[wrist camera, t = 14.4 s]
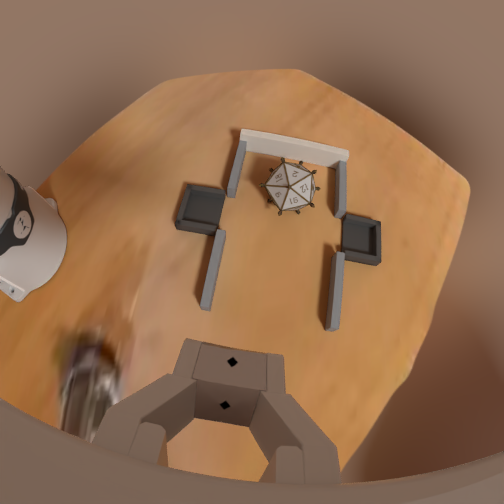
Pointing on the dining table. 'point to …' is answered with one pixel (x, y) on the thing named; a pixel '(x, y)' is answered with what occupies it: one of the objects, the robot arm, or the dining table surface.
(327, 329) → the trap lane
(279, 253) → the dining table surface
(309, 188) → the game die
